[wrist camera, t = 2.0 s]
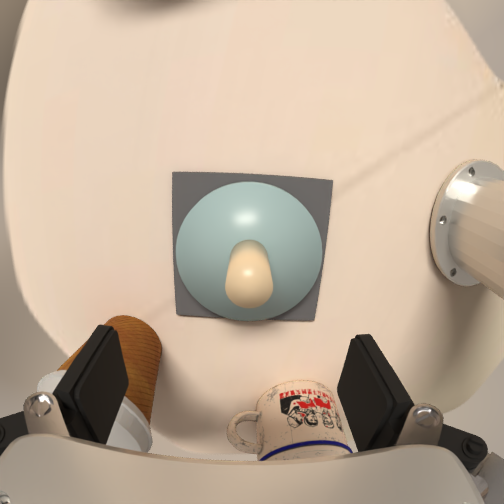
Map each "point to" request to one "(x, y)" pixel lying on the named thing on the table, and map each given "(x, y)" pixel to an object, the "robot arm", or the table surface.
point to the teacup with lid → (293, 424)
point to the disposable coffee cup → (140, 382)
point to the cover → (248, 251)
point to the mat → (201, 183)
